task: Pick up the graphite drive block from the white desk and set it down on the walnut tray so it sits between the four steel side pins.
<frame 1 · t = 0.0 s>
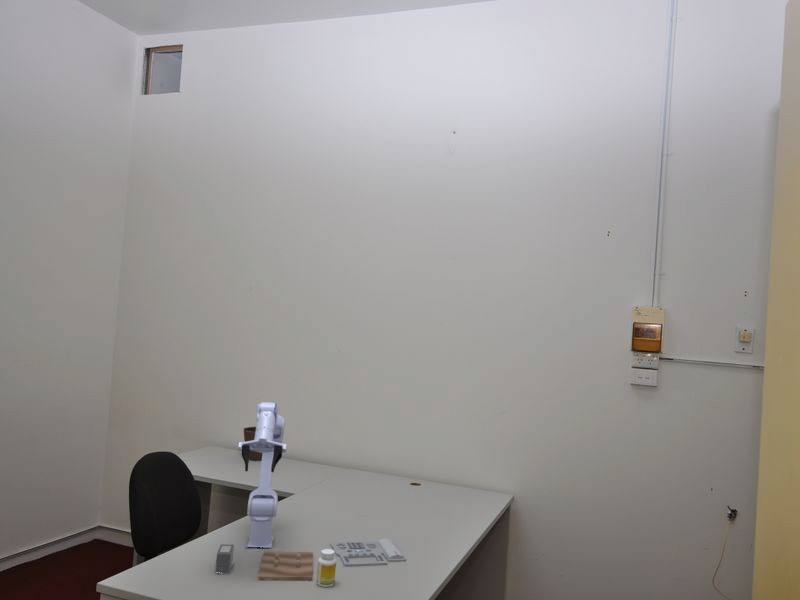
hand: (259, 469, 190), 32 cm above the table, tool tilted 50°, fingers open, 7 cm apart
drive block: (224, 568, 194), on the table
office telephone: (368, 556, 214), on the table
supplement bottle: (325, 584, 188), on the table
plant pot: (255, 459, 335), on the table
pin tray: (286, 566, 199), on the table
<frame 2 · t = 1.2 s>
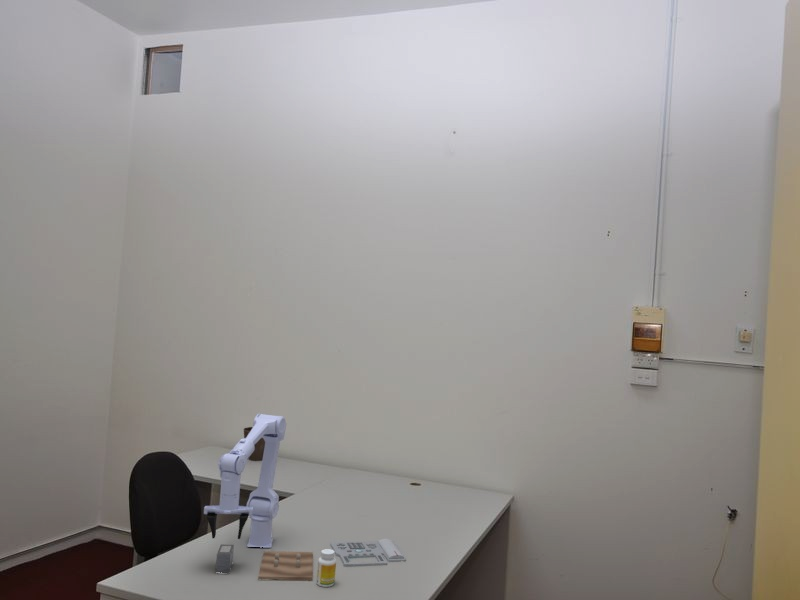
hand: (226, 537, 194), 10 cm above the table, tool pointing down, fingers open, 7 cm apart
nothing on the table moved.
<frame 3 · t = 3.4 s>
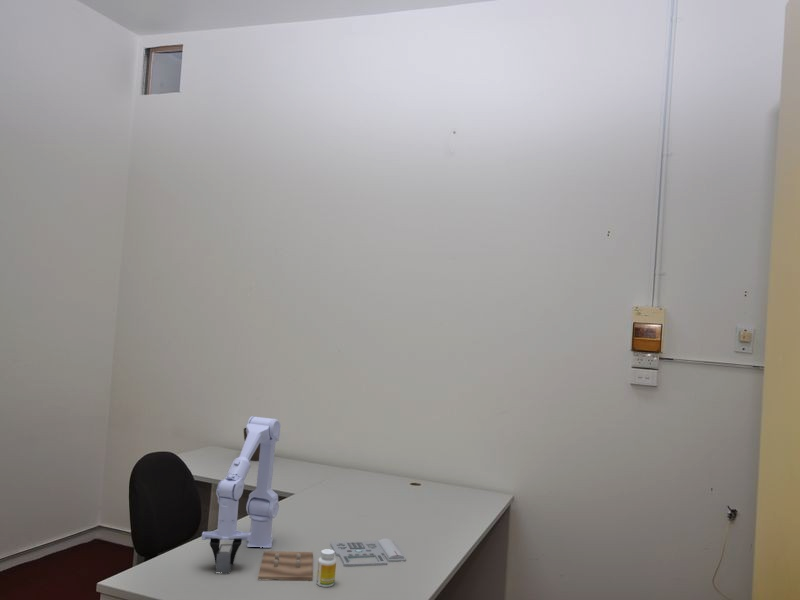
hand: (224, 563, 194), 2 cm above the table, tool pointing down, fingers closed on drive block, 4 cm apart
drive block: (224, 568, 194), on the table, touching gripper
everything else where it was.
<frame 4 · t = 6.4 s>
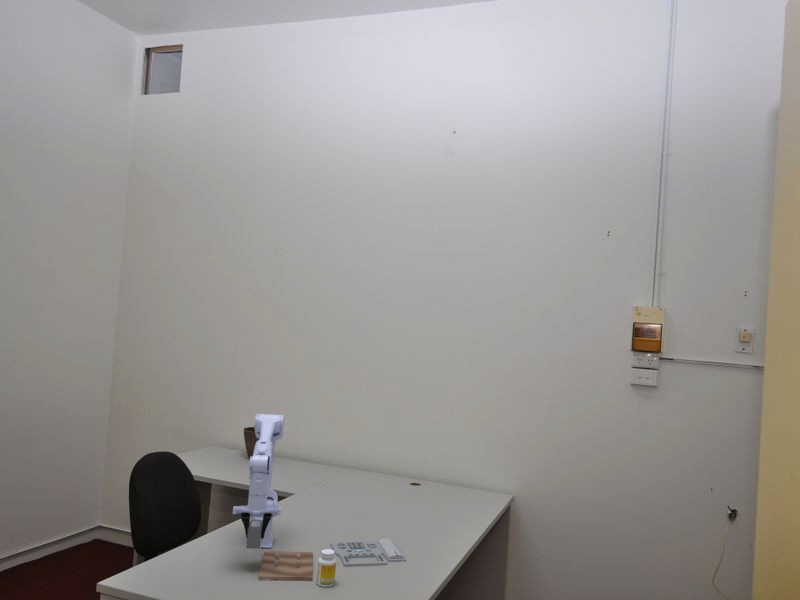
hand: (255, 537, 196), 9 cm above the table, tool pointing down, fingers closed on drive block, 4 cm apart
drive block: (254, 543, 196), point 8 cm above the table, touching gripper
everything else where it was.
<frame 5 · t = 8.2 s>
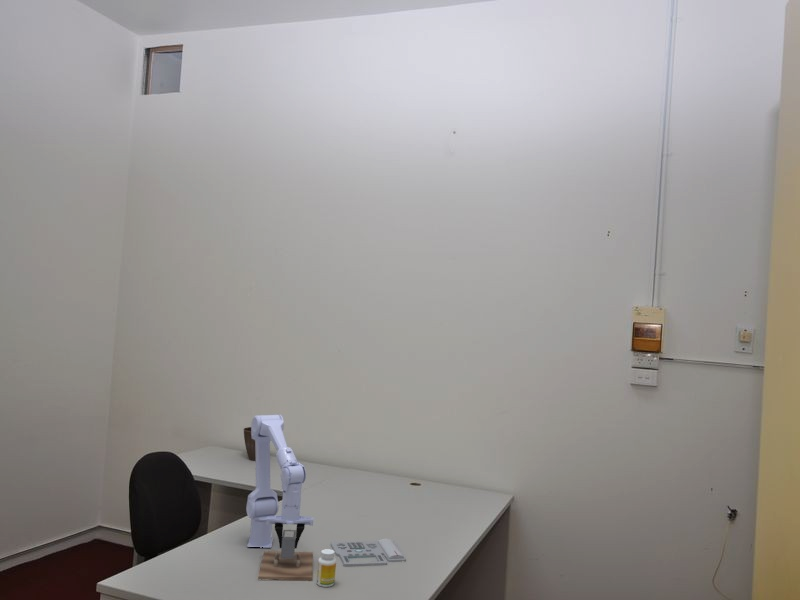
hand: (288, 547, 199), 6 cm above the table, tool pointing down, fingers closed on drive block, 4 cm apart
drive block: (287, 553, 199), point 4 cm above the table, touching gripper
everything else where it was.
when the fingers open (4 cm above the table, at t = 9.5 s): drive block stays where it is, resting on pin tray.
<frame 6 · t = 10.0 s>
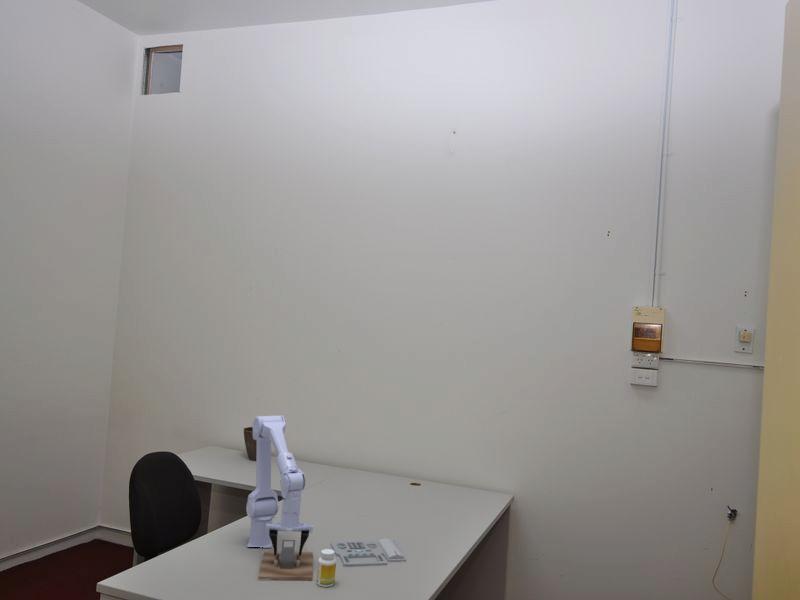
hand: (287, 554, 199), 4 cm above the table, tool pointing down, fingers open, 7 cm apart
drive block: (287, 563, 199), point 1 cm above the table, touching pin tray
everything else where it was.
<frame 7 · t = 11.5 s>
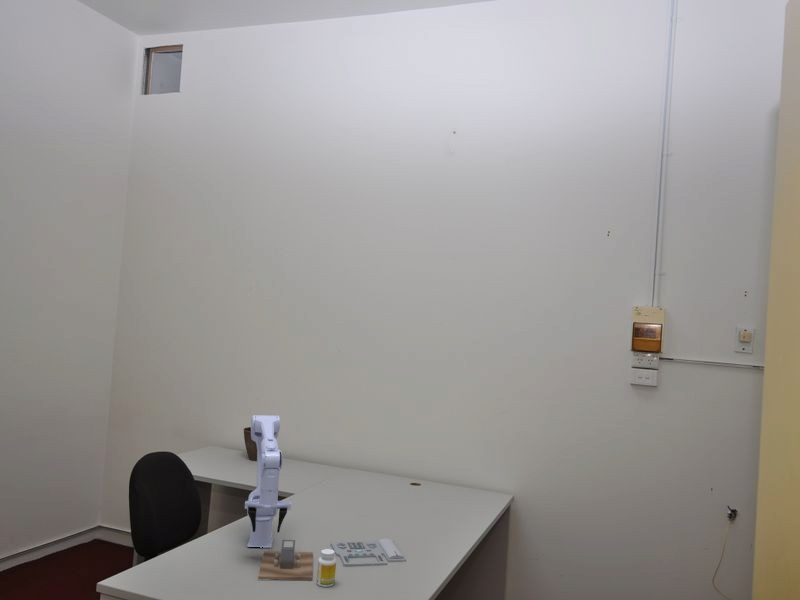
hand: (266, 531, 203), 9 cm above the table, tool pointing down, fingers open, 7 cm apart
nothing on the table moved.
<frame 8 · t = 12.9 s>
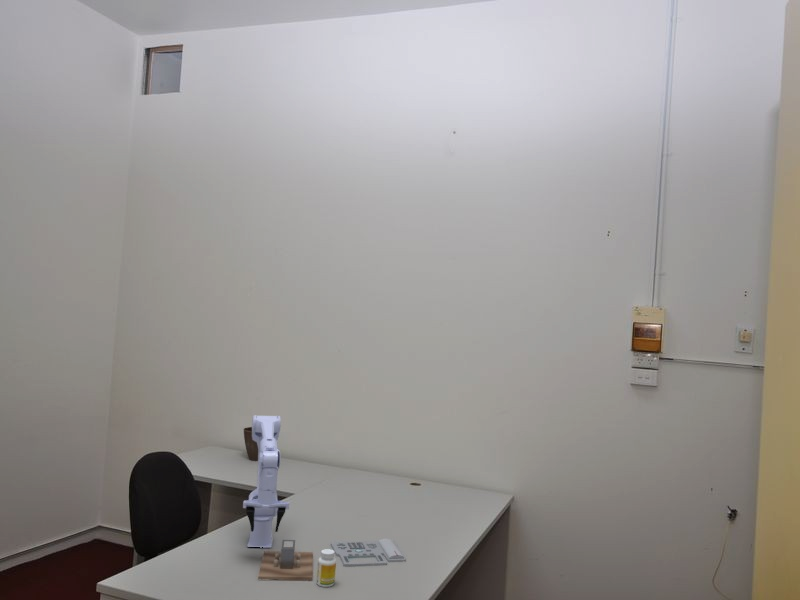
hand: (264, 530, 203), 9 cm above the table, tool pointing down, fingers open, 7 cm apart
nothing on the table moved.
at the end: drive block 0.1 cm off-centre on the pin tray, point 1.0 cm above the pin tray's base; drive block tilted 0°; the gripper is holding nothing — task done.
